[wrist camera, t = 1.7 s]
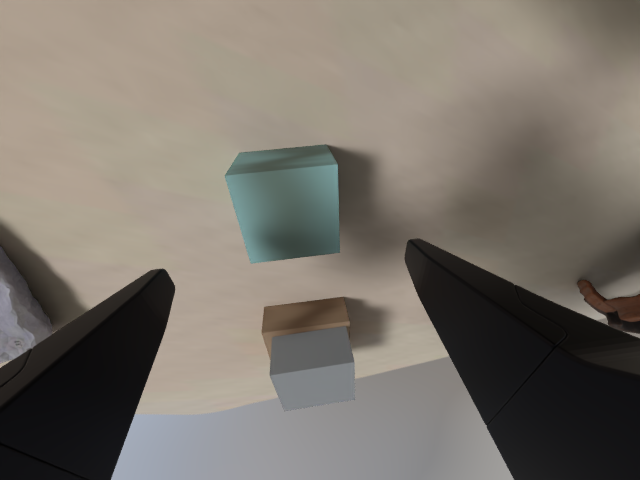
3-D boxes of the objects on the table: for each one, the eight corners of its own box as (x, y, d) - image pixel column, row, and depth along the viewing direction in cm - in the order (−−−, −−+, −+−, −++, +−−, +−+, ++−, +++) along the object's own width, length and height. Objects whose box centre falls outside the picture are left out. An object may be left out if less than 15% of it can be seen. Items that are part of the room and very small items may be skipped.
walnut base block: (342, 293, 22) (349, 321, 19) (343, 339, 26) (349, 367, 23) (264, 303, 21) (261, 332, 19) (277, 348, 25) (276, 377, 23)
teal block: (325, 143, 14) (337, 164, 11) (329, 218, 17) (339, 252, 14) (239, 152, 14) (224, 175, 10) (258, 226, 17) (250, 263, 13)
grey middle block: (346, 325, 19) (354, 362, 17) (347, 364, 23) (354, 399, 20) (272, 337, 19) (269, 375, 17) (284, 374, 23) (284, 411, 20)
